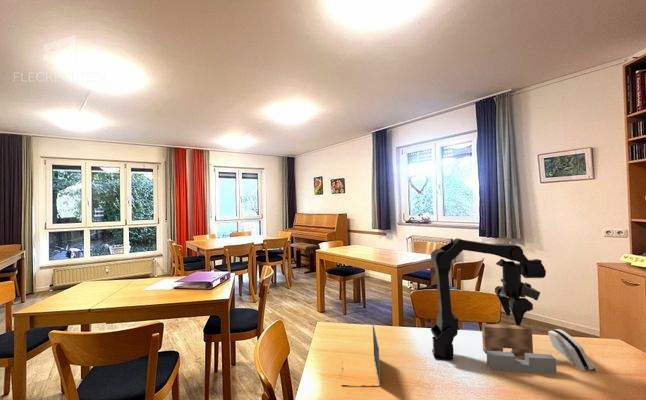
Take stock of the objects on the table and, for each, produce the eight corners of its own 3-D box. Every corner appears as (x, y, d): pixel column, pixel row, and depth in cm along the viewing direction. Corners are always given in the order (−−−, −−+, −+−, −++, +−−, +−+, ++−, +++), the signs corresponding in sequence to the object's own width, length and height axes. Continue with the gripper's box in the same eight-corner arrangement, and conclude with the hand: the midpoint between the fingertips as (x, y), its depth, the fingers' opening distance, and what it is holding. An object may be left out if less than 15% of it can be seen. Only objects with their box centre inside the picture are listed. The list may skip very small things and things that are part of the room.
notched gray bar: (490, 369, 101) (489, 355, 101) (487, 364, 104) (486, 350, 104) (556, 374, 97) (555, 359, 97) (551, 369, 100) (550, 354, 100)
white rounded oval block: (599, 372, 97) (586, 343, 98) (583, 376, 98) (570, 347, 98) (567, 347, 113) (556, 322, 114) (554, 350, 114) (543, 326, 115)
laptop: (342, 358, 113) (340, 323, 113) (375, 358, 112) (373, 323, 112) (341, 387, 95) (339, 347, 95) (380, 388, 94) (379, 347, 94)
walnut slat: (485, 353, 111) (484, 327, 111) (483, 349, 114) (481, 323, 114) (533, 356, 108) (531, 329, 108) (529, 352, 111) (528, 325, 111)
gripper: (550, 286, 98) (551, 333, 98) (525, 272, 116) (526, 312, 116) (512, 284, 100) (513, 330, 100) (493, 271, 118) (494, 310, 118)
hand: (512, 320), depth 109 cm, fingers open, 9 cm apart
